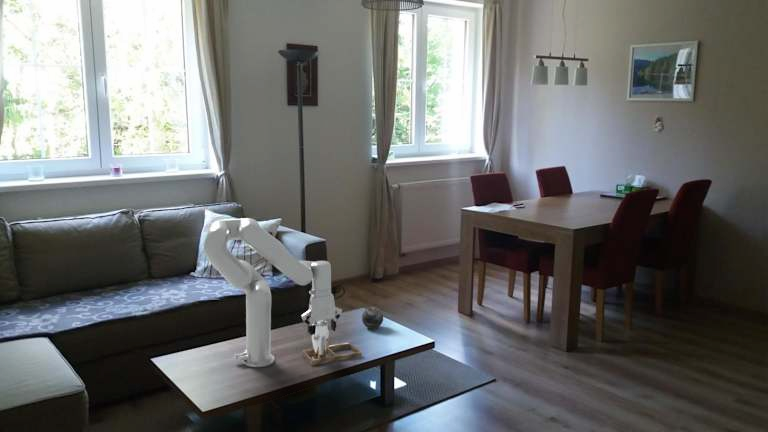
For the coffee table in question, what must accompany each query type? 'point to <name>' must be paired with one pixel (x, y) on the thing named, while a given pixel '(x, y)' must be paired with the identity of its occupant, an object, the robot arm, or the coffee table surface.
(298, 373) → the coffee table surface
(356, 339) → the coffee table surface
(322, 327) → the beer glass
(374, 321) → the decorative stone
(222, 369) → the coffee table surface
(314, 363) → the coaster frame
